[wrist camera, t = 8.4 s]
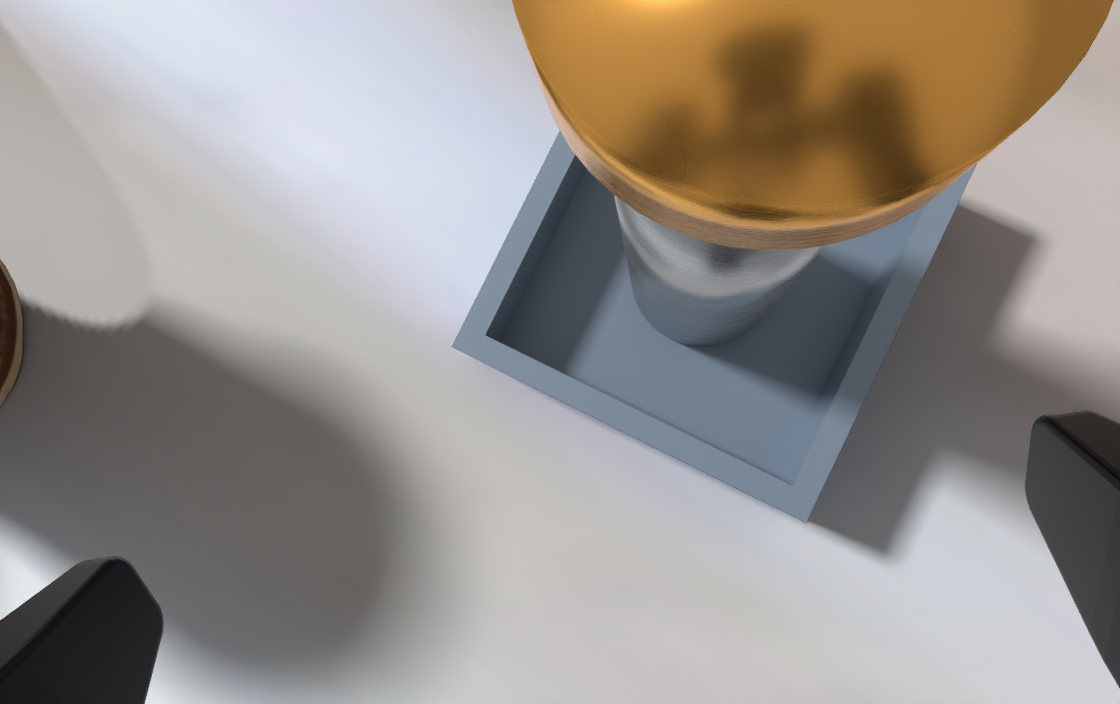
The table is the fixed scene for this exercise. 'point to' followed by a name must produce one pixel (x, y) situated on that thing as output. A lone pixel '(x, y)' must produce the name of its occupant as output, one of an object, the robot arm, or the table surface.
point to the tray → (690, 371)
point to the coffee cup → (9, 333)
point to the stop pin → (783, 125)
